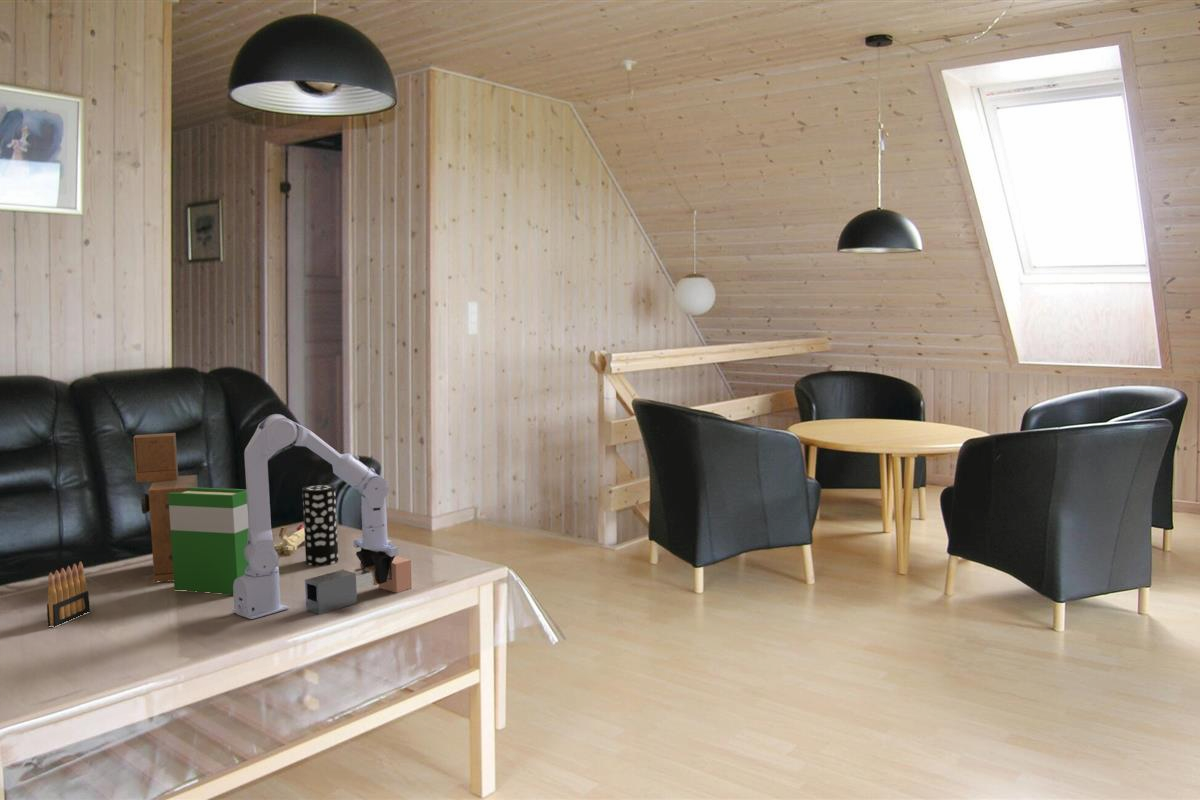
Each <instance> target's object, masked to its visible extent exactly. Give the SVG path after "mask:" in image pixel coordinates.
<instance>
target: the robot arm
mask: <svg viewBox="0 0 1200 800" xmlns="http://www.w3.org/2000/svg"><path fill="white" fill-rule="evenodd" d="M291 444H292V445H293V446H295V447H306V448H307V449H309V450H311V452H313V453H314V454H316V455H318V456H319V457H321V459H323V460H325V461H326V462H328V463H329V464H330V465H331V466H332V473H333V474H334V475H335V476H336V477H338V478H339V479H341V480H342V481H343V482H344V483H346V484H347V485H349V486H351V488H354V490H357V491H358V493H359V494H360V496H361V500H360V501H361V512H360V513H361V532H362V533H361V534H362V538H361V537H359V538H354V539H353V548H355V549H358V548H360V550H359V551H356V553H355V555H356V557H357V559H358V560H359V561H360V562H359V563H361V564H362V566H363V569H362V570H365V568H366V567H370V566H374V565H375V569H376V576H377V582H378V585H379V584H382V583H385V582H387V578H388V573H389V569H390V566H391V563H392V561H393V559H394V557H395V556H399V547H398V546H396V545H393V543H392V540H391V539H389V538H388V517H387V504H386V497H387V496H388V493H389V490H390V488H389V486H388V483H387V481H386V480H385V478H384V477H382V476H380V475H378V474H377V472H376V470H375V469H374V468H373V467H370V468H369V466H367V465H365V464H364V463H363V462H362V461H360V457H359V456H358V455H356V454H355V453H354V454H353V455H352V454H351V453H348V452H347V453H339V452H338V451H337V450H336V449H334V448H333V447H332V446H330V445H329V444H328V443H327V442H325V441H324V440H323V439H322V438H321V437H319V436H318V435H317V434H316V433H314V432H313V431H311V430H310V429H308V428H306V427H305V426H303V425H301V424H299V423H297V422H295V421H293V420H291V419H290V418H287V417H286V416H285V415H283V414H279V413H274V414H271V415H268V416H267V417H266V418H264V419H263V420H262V421H261V422H259V424H258V425H257V428H256V429H255V431H254V433H253V436H251V439H250V440H249V442H248V444H247V445H246V447H245V449H244V452H243V453H244V454H243V455H244V470H245V471H244V472H245V488H246V492H247V509H248V527H249V530H248V535H247V536H248V541H247V545H246V547H245V549H244V557H245V559H246V560H247V562H248V563H249V565H248V566H247V568H246V569H245V574H244V575H243V576H241V577H239V578H236V579H235V581H234V584H233V594H234V595H233V608H234V609H233V610H232V613H233V614H235V613H236V615H238V616H241V617H244V618H246V619H249V620H255V619H258V618H261V617H264V616H268V615H272V614H275V613H280V612H283V611H285V610H288V609H289V608H290V607H289V606H288V605H285V604H282V603H281V588H280V587H281V585H280V584H281V583H280V567H279V566H278V565H279V560H280V558H279V554H278V553H277V552H276V550H275V549H274V546H275V545H274V539H273V538H274V537H273V531H272V524H271V523H272V522H271V519H272V518H271V504H270V482H269V467H268V466H269V465H268V463H269V462H268V461H269V459H270V458H271V457H272V456H274V454H276V453H277V452H278V451H280V450H281V449H282V450H283V448H286V447H288V446H290V445H291Z"/></svg>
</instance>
